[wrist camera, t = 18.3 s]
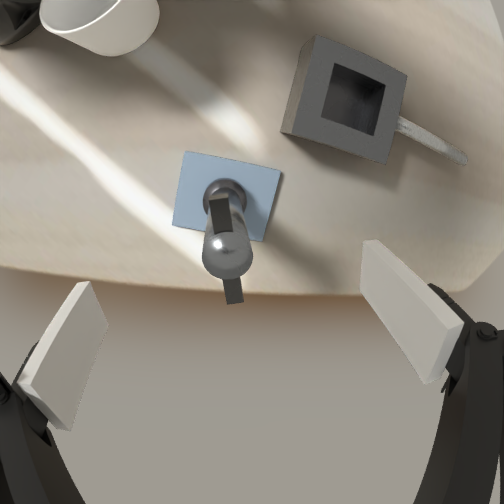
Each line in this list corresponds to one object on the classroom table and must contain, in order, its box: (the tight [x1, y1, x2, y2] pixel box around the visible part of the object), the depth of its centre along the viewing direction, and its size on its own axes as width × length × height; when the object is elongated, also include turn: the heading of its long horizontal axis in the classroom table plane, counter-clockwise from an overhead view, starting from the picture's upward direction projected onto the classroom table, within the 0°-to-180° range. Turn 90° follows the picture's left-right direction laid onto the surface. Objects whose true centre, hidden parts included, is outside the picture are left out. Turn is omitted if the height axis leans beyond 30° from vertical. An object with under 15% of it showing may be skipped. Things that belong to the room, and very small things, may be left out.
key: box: [202, 178, 253, 304], centre depth 24 cm, size 7×4×14 cm, turn 7°
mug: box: [39, 0, 160, 56], centre depth 16 cm, size 9×12×11 cm
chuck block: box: [280, 35, 468, 166], centre depth 26 cm, size 23×10×5 cm, turn 76°
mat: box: [172, 151, 281, 242], centre depth 30 cm, size 10×8×1 cm
